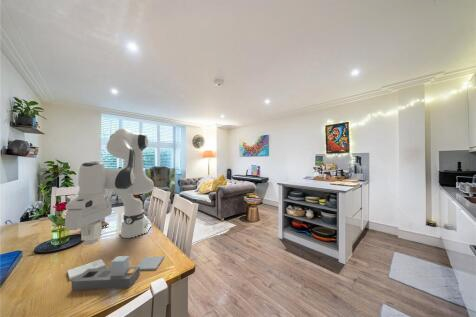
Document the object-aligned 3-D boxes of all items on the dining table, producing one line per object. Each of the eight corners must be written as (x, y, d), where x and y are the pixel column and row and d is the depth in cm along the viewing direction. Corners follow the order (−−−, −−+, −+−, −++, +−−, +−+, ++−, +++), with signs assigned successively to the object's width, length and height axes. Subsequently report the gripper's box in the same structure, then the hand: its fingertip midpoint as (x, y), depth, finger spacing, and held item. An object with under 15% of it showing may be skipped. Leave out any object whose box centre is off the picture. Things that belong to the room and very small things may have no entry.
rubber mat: (144, 258, 89) (144, 257, 89) (163, 257, 90) (163, 256, 90) (134, 270, 79) (134, 269, 79) (156, 269, 80) (156, 268, 80)
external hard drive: (67, 273, 78) (101, 261, 88) (69, 281, 73) (105, 267, 82) (67, 270, 78) (101, 258, 88) (69, 277, 73) (105, 264, 82)
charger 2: (117, 270, 74) (117, 256, 74) (129, 269, 74) (129, 255, 74) (110, 276, 70) (111, 261, 70) (123, 275, 70) (123, 261, 70)
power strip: (88, 277, 75) (88, 267, 75) (139, 274, 76) (139, 265, 77) (71, 290, 67) (71, 279, 67) (129, 287, 68) (129, 277, 69)
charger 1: (89, 240, 74) (89, 222, 74) (101, 240, 74) (101, 221, 74) (81, 245, 70) (81, 225, 70) (94, 244, 70) (94, 225, 70)
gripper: (102, 195, 82) (102, 223, 82) (61, 206, 62) (60, 244, 62) (115, 194, 83) (115, 223, 83) (79, 205, 62) (78, 243, 62)
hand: (91, 232), depth 72 cm, fingers closed on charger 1, 4 cm apart
